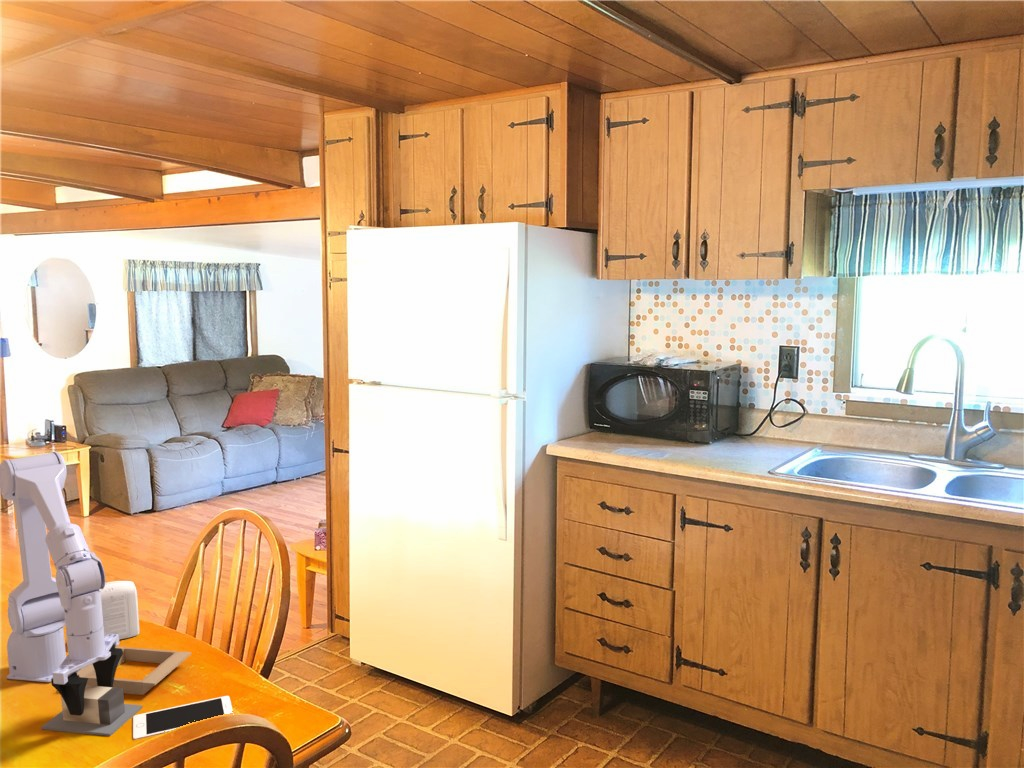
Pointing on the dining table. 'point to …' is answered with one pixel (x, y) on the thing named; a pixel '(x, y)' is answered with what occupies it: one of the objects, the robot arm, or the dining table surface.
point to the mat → (91, 728)
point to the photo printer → (120, 609)
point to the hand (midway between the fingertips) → (91, 702)
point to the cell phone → (178, 716)
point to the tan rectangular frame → (142, 655)
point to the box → (98, 705)
